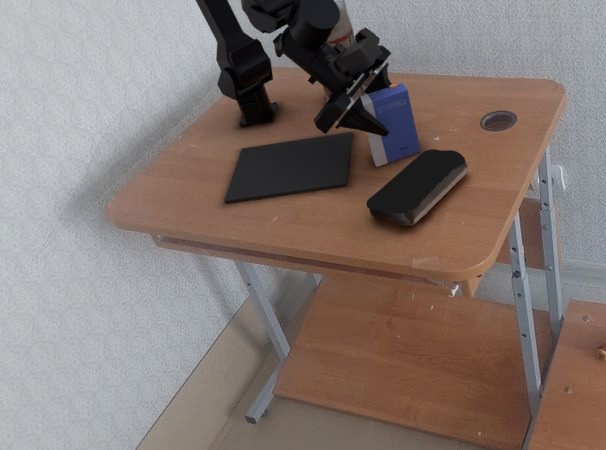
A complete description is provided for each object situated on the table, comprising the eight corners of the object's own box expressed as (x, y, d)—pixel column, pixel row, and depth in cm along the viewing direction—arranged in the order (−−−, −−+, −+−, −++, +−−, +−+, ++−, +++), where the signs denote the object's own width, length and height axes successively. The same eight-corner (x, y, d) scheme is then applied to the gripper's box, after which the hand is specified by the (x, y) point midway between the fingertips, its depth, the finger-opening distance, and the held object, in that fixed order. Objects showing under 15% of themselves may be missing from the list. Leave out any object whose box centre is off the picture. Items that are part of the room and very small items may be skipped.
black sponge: (409, 236, 100) (404, 217, 97) (366, 219, 104) (360, 200, 102) (474, 173, 109) (471, 154, 106) (431, 160, 113) (427, 141, 111)
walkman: (415, 143, 118) (401, 80, 110) (421, 152, 116) (407, 88, 108) (371, 158, 116) (354, 95, 108) (376, 167, 114) (358, 103, 106)
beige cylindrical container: (326, 90, 136) (297, -9, 124) (368, 82, 136) (342, -18, 124) (326, 112, 130) (294, 10, 117) (369, 104, 130) (342, 1, 117)
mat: (242, 151, 124) (241, 148, 124) (353, 134, 123) (352, 131, 122) (225, 203, 113) (223, 201, 112) (346, 186, 111) (345, 183, 111)
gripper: (310, 54, 96) (399, 127, 99) (367, -5, 108) (444, 62, 112) (279, 101, 104) (362, 167, 107) (335, 41, 116) (408, 102, 120)
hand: (396, 122), depth 111 cm, fingers open, 6 cm apart
